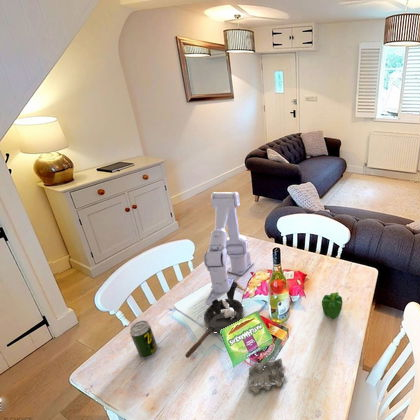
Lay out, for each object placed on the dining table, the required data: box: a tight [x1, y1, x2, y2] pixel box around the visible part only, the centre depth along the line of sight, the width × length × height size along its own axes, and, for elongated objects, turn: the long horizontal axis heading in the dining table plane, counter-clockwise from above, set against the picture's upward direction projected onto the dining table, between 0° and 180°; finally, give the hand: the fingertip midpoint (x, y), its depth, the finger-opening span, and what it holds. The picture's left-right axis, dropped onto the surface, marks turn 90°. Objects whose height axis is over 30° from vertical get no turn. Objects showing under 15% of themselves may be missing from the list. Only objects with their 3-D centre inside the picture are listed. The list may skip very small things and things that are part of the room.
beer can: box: [129, 320, 158, 359], centre depth 89 cm, size 5×5×12 cm
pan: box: [203, 298, 245, 335], centre depth 104 cm, size 14×14×4 cm
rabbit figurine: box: [214, 298, 236, 320], centre depth 105 cm, size 6×4×8 cm
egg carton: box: [248, 358, 285, 394], centre depth 83 cm, size 11×8×4 cm
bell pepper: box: [321, 291, 343, 320], centre depth 106 cm, size 8×8×10 cm
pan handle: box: [184, 327, 213, 359], centre depth 92 cm, size 12×2×2 cm, turn 161°
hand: (224, 305), depth 104 cm, fingers open, 7 cm apart
